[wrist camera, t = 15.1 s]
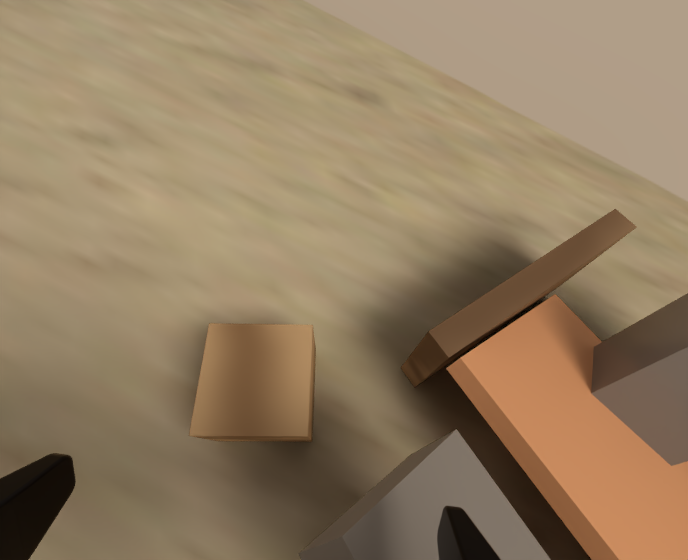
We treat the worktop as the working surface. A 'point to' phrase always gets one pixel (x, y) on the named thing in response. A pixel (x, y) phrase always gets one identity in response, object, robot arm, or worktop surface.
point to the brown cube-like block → (256, 384)
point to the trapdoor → (527, 462)
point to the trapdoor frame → (512, 297)
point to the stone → (649, 379)
